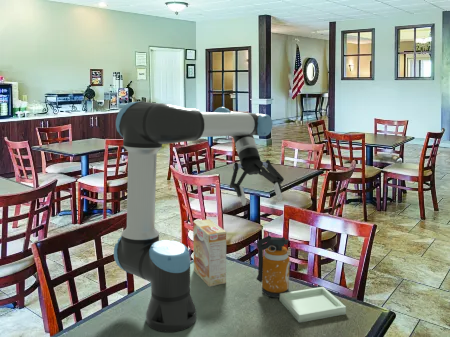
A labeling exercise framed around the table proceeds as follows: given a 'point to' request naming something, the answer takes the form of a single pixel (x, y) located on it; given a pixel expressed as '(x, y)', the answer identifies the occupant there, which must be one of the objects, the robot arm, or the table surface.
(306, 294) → the tray
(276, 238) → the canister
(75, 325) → the table surface
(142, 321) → the table surface
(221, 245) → the coffeecake box
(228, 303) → the table surface
